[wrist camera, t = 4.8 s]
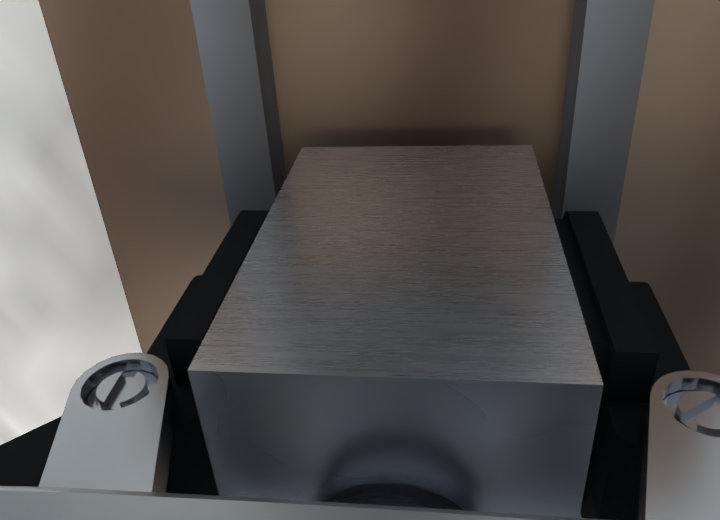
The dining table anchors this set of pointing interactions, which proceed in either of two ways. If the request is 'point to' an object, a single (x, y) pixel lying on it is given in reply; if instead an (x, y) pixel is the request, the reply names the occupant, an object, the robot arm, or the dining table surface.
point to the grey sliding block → (403, 340)
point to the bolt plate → (399, 120)
